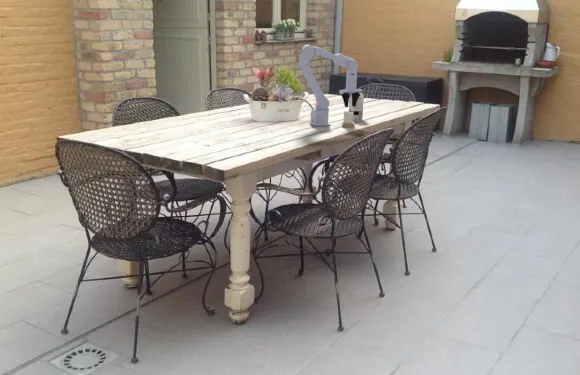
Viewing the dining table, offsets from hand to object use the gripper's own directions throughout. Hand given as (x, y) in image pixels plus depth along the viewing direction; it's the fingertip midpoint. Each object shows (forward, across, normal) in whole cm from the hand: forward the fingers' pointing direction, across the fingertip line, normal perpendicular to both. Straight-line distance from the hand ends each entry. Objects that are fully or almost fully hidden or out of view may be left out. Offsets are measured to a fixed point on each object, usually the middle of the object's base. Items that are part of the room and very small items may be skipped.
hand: (350, 106), depth 342 cm
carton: (+10, +3, +2) cm, 11 cm away
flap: (+8, +4, +4) cm, 10 cm away
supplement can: (+11, -16, -14) cm, 23 cm away
